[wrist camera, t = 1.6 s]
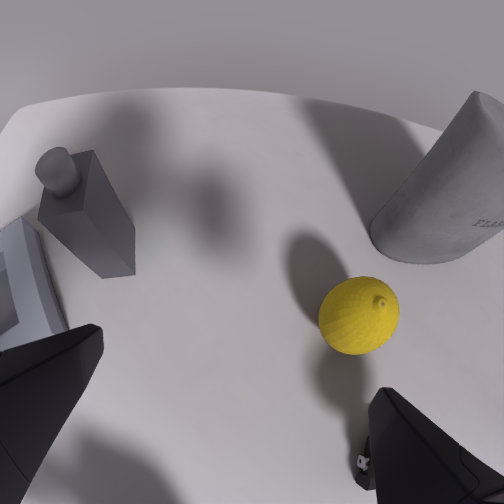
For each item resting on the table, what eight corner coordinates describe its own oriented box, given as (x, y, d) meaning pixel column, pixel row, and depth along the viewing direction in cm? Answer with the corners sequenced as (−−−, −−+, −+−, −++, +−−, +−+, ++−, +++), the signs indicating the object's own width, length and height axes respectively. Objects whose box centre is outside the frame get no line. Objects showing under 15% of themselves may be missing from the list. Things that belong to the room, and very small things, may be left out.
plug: (135, 275, 24) (68, 190, 12) (102, 278, 24) (20, 201, 12) (135, 229, 26) (82, 127, 14) (103, 233, 25) (38, 140, 13)
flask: (377, 270, 26) (535, 125, 8) (363, 215, 28) (477, 52, 10) (476, 260, 28) (597, 170, 9) (461, 216, 30) (565, 115, 12)
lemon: (301, 299, 25) (332, 267, 17) (359, 289, 25) (406, 255, 18) (313, 364, 23) (352, 359, 15) (372, 349, 23) (427, 336, 16)
